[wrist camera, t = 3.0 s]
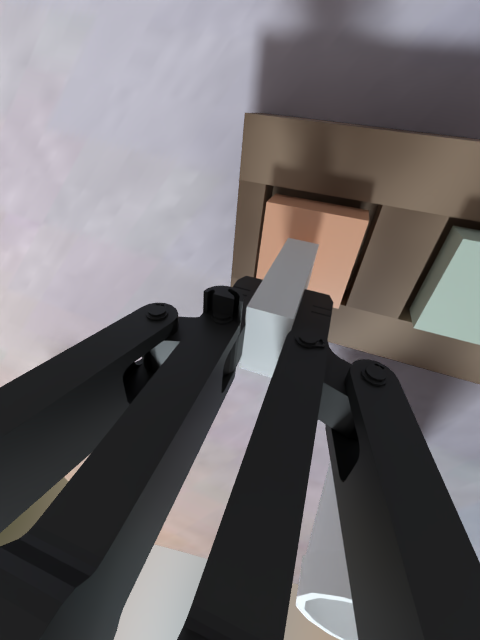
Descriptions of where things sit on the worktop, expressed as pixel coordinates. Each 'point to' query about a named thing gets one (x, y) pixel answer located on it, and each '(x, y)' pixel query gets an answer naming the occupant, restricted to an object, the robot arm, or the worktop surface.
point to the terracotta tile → (315, 239)
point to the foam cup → (327, 572)
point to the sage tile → (452, 289)
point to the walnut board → (384, 221)
